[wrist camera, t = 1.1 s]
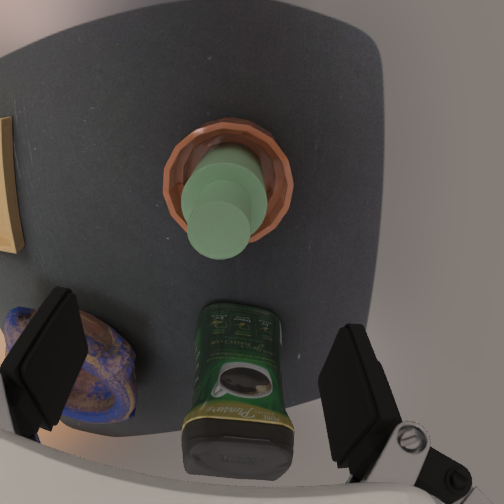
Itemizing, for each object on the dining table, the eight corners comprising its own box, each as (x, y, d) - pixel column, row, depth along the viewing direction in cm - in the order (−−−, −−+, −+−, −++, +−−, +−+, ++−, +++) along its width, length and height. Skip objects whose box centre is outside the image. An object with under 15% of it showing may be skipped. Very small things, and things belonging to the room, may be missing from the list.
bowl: (142, 391, 44) (128, 445, 35) (40, 352, 40) (16, 399, 31) (160, 312, 35) (140, 378, 27) (30, 263, 32) (-12, 313, 23)
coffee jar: (194, 342, 38) (173, 482, 22) (202, 293, 34) (176, 451, 18) (270, 354, 39) (279, 491, 23) (288, 308, 35) (310, 462, 19)
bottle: (201, 138, 26) (168, 174, 15) (266, 146, 26) (280, 188, 16) (195, 198, 28) (165, 270, 18) (257, 206, 29) (262, 281, 18)
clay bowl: (181, 112, 25) (167, 117, 21) (294, 126, 26) (304, 134, 21) (173, 214, 30) (161, 238, 25) (275, 227, 30) (279, 252, 26)
